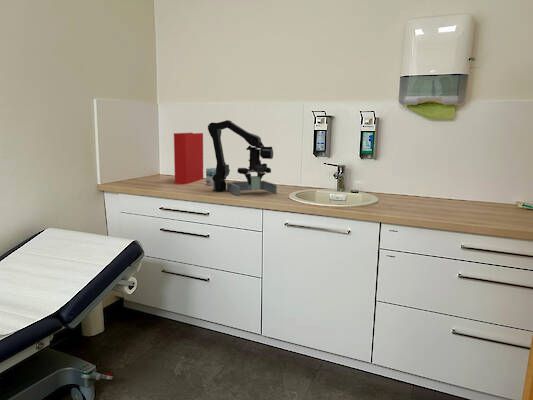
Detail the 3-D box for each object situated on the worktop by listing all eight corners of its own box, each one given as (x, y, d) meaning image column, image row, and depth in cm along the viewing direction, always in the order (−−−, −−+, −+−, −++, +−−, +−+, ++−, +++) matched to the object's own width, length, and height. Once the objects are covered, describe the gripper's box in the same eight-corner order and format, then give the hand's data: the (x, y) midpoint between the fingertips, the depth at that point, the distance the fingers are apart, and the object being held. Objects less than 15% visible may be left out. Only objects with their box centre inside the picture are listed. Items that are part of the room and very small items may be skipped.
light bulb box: (213, 186, 246) (213, 169, 244) (205, 185, 250) (205, 168, 248) (224, 184, 254) (224, 167, 252) (217, 183, 258) (217, 166, 256)
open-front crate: (237, 195, 216) (238, 186, 215) (227, 190, 231) (227, 182, 230) (276, 193, 226) (276, 184, 225) (263, 188, 241) (263, 180, 240)
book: (192, 178, 278) (192, 132, 271) (203, 179, 275) (202, 133, 269) (173, 183, 252) (172, 133, 246) (185, 184, 250) (184, 133, 243)
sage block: (251, 189, 222) (252, 177, 220) (248, 188, 226) (248, 176, 225) (259, 189, 224) (260, 177, 222) (256, 187, 228) (256, 176, 227)
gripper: (245, 159, 210) (244, 188, 213) (275, 159, 218) (275, 186, 222) (237, 157, 220) (237, 185, 223) (267, 157, 228) (266, 183, 231)
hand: (254, 185), depth 225 cm, fingers closed on sage block, 5 cm apart
